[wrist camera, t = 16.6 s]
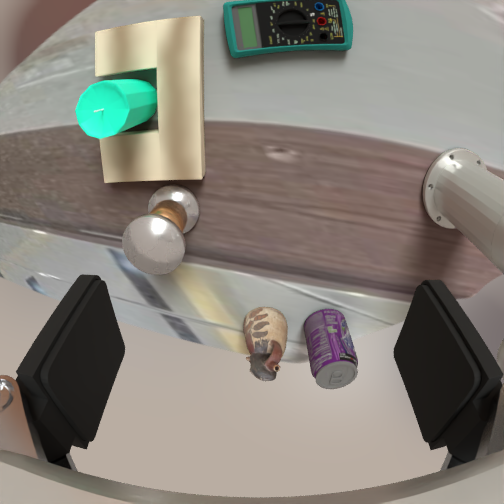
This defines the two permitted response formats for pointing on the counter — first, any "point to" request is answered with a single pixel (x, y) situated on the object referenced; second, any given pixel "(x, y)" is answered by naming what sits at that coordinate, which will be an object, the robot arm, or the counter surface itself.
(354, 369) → the beverage can
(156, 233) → the bobbin post
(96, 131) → the candle
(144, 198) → the counter surface
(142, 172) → the notched board
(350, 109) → the counter surface
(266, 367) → the figurine
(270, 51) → the digital multimeter
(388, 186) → the counter surface
